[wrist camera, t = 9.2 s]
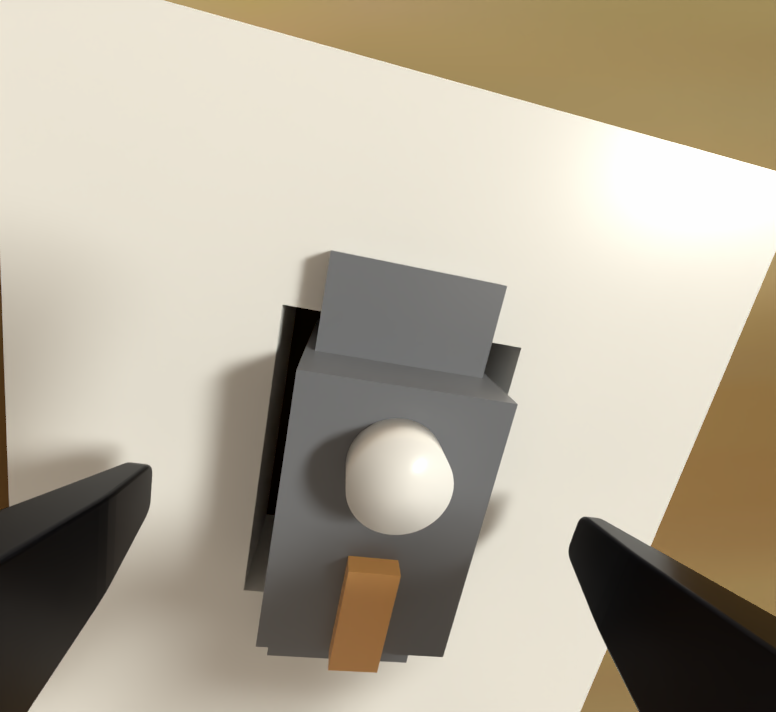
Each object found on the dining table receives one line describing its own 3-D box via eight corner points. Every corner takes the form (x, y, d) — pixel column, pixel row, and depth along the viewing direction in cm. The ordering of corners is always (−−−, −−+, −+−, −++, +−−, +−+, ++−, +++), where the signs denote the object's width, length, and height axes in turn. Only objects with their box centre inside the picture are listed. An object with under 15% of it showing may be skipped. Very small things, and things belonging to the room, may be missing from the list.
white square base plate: (528, 647, 16) (569, 737, 13) (87, 619, 13) (17, 721, 11) (692, 196, 12) (806, 179, 9) (99, 43, 9) (-11, -48, 6)
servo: (397, 560, 14) (430, 766, 8) (281, 549, 13) (235, 764, 8) (466, 275, 12) (575, 302, 6) (328, 247, 11) (309, 249, 5)
